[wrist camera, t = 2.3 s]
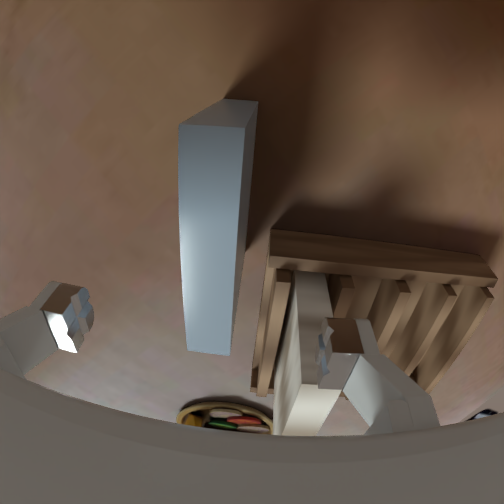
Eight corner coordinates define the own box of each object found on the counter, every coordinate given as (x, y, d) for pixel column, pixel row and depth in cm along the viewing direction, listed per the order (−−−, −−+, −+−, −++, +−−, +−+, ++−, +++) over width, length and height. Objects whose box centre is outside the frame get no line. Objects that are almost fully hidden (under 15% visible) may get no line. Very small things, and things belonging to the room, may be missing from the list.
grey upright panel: (223, 98, 16) (179, 124, 9) (258, 101, 16) (245, 128, 9) (216, 248, 22) (187, 350, 14) (245, 251, 22) (229, 355, 14)
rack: (270, 228, 21) (266, 353, 12) (479, 255, 20) (544, 347, 12) (252, 363, 28) (243, 465, 20) (416, 368, 28) (440, 453, 19)
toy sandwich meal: (296, 412, 33) (296, 447, 29) (250, 448, 40) (248, 476, 36) (192, 384, 31) (184, 422, 27) (168, 427, 38) (161, 455, 34)
